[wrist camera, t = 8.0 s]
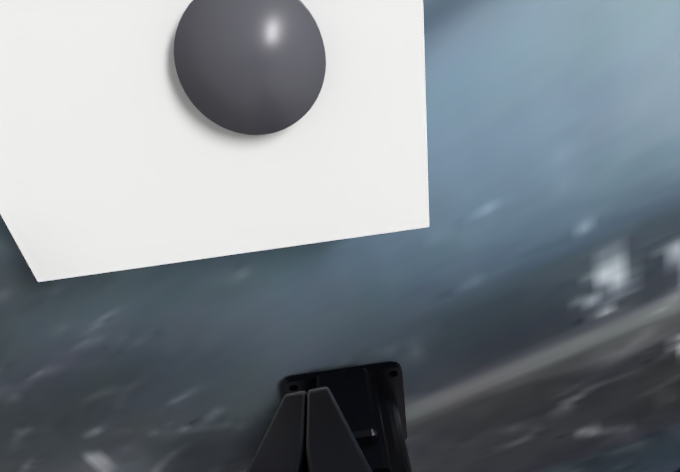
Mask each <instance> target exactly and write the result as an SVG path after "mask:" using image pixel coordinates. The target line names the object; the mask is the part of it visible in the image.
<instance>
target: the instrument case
mask: <svg viewBox="0 0 680 472" xmlns="http://www.w3.org/2000/svg"><path fill="white" fill-rule="evenodd" d="M0 214H1V216H2V218H3V220H4V222H5V223H6V225H7V227H8V229H9V231H10V233H11V234H12V236H13V238H14V240H15V242H16V243H17V245H18V247H19V249H20V251H21V252H22V254H23V256H24V258H25V260H26V261H27V263H28V265H29V267H30V269H31V271H32V272H33V274H34V276H35V278H36V280H37V281H38V282H43V281H50V280H57V279H64V278H71V277H78V276H85V275H92V274H99V273H106V272H113V271H121V270H128V269H135V268H142V267H149V266H156V265H163V264H170V263H177V262H184V261H191V260H198V259H206V258H213V257H220V256H227V255H234V254H241V253H248V252H255V251H262V250H269V249H276V248H283V247H290V246H298V245H305V244H312V243H319V242H326V241H333V240H340V239H347V238H354V237H361V236H368V235H375V234H383V233H390V232H397V231H404V230H411V229H418V228H425V227H429V197H428V161H427V124H426V88H425V52H424V15H423V0H0Z"/></svg>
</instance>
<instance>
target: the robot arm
mask: <svg viewBox="0 0 680 472" xmlns="http://www.w3.org/2000/svg"><path fill="white" fill-rule="evenodd" d="M390 371H393V372H390ZM292 385H295V386H292ZM285 393H286V395H285V396H284V397H283V399H282V401H281V403H280V405H279V407H278V409H277V411H276V413H275V415H274V417H273V419H272V421H271V423H270V425H269V427H268V429H267V431H266V433H265V436H264V438H263V440H262V442H261V444H260V446H259V448H258V450H257V452H256V454H255V456H254V458H253V460H252V462H251V464H250V466H249V468H248V470H247V472H412V470H411V466H410V461H409V457H408V452H407V447H406V443H405V440H406V438H407V430H406V417H405V403H404V390H403V377H402V370H401V366H400V364H398V363H396V362H388V363H381V364H374V365H367V366H360V367H353V368H346V369H339V370H332V371H325V372H318V373H311V374H304V375H297V376H291V377H288V378H287V379H286V380H285Z"/></svg>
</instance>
